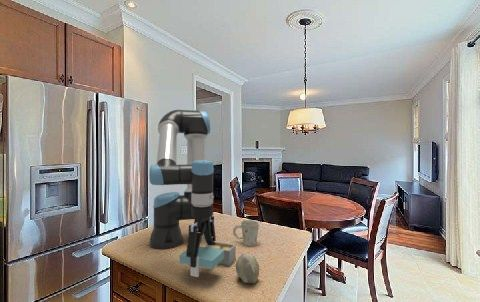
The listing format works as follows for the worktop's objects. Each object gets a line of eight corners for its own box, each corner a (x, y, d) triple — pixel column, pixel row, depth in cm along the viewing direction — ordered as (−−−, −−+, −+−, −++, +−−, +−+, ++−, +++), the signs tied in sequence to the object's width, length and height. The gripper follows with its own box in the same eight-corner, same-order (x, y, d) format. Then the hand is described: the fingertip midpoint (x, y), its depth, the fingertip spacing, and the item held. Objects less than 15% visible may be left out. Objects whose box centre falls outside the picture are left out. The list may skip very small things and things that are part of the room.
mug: (257, 247, 111) (257, 225, 111) (230, 245, 113) (230, 224, 113) (259, 241, 119) (259, 220, 119) (234, 239, 122) (234, 219, 121)
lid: (179, 262, 83) (179, 254, 83) (193, 252, 92) (193, 245, 92) (212, 269, 79) (212, 260, 79) (224, 257, 87) (224, 250, 87)
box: (205, 262, 96) (206, 247, 96) (213, 255, 103) (213, 241, 102) (229, 266, 93) (229, 251, 93) (235, 259, 99) (235, 244, 99)
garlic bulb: (253, 294, 80) (255, 270, 76) (229, 284, 83) (230, 261, 79) (262, 272, 88) (264, 250, 84) (240, 264, 91) (242, 243, 87)
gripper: (195, 212, 74) (195, 287, 74) (225, 199, 94) (224, 258, 94) (174, 210, 76) (174, 282, 76) (207, 198, 97) (207, 255, 97)
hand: (202, 269), depth 85 cm, fingers closed on lid, 9 cm apart
